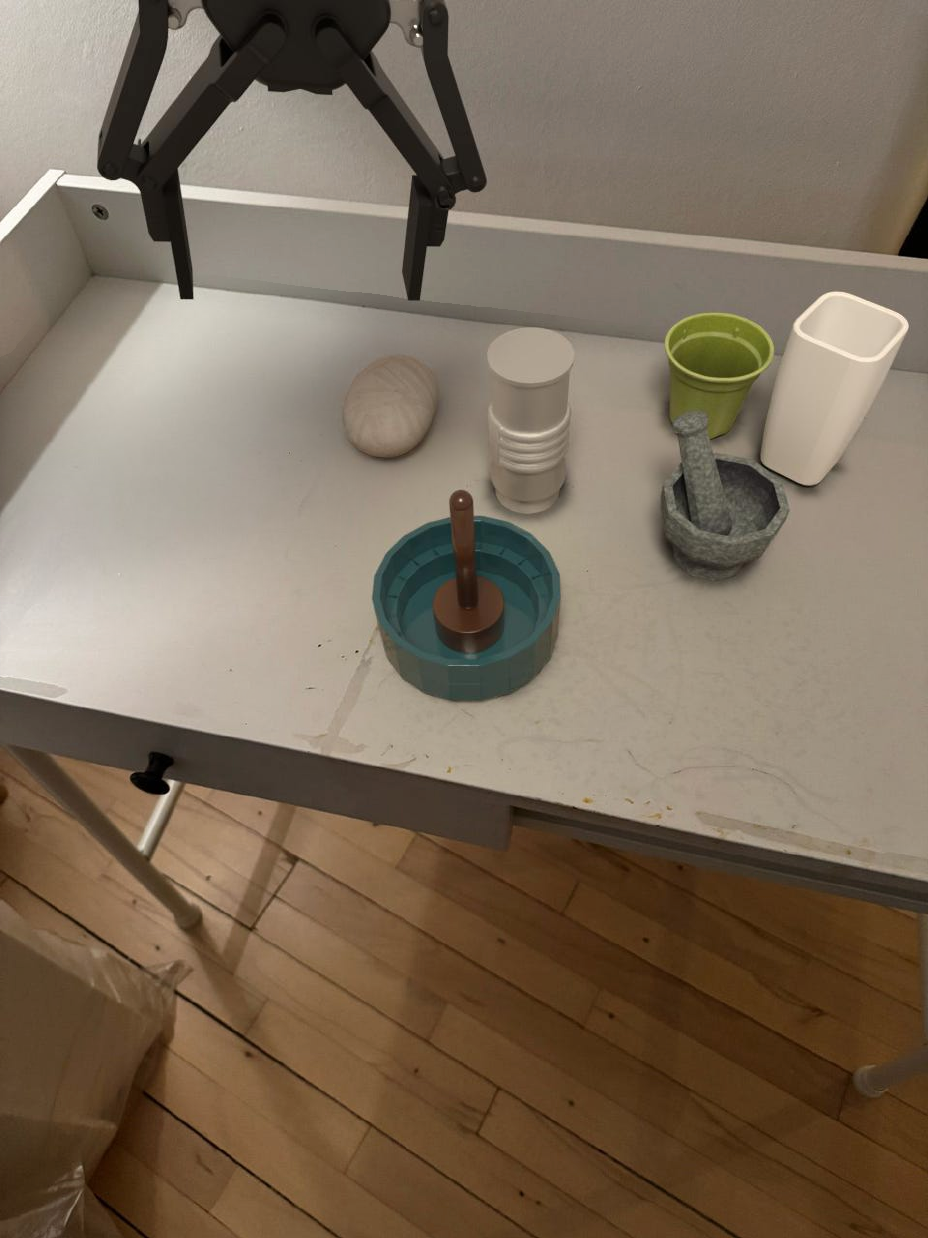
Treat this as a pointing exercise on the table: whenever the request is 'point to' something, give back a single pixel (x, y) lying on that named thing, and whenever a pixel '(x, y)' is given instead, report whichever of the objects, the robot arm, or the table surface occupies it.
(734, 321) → the plant pot
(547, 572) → the bowl
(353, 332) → the table surface
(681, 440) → the mortar and pestle
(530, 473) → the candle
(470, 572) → the wooden peg stand
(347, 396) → the decorative stone
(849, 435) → the cup
